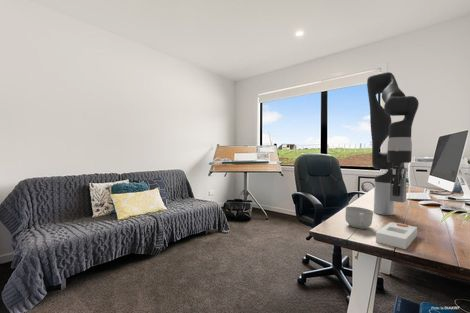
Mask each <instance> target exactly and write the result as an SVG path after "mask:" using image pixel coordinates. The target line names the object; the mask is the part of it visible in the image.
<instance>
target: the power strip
mask: <svg viewBox="0 0 470 313" xmlns="http://www.w3.org/2000/svg"><path fill="white" fill-rule="evenodd" d="M417 237H418V226H414V225H413V226H412V225H409V224H407V223H400V222H394V221H389V223H387V224H386V225H385V226H382V228H380V229H379V230H377V231H376V232H375V242H376V243H379V244H384V245H386V246H387V245H388V246H391V247H394V248H399V249H402V250H406V249H408V247H409V246H410V245H411V244H412V243H413V241H414V240H415V239H416V238H417Z"/></svg>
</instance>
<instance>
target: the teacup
mask: <svg viewBox="0 0 470 313" xmlns="http://www.w3.org/2000/svg"><path fill="white" fill-rule="evenodd" d="M344 215H345V217H344V218H345V221H346V223H347V224H348V225H349V226H350V227H353V228H354V229H355V228H356V229H362V230H366V229H367V228H369V227H370V226H372V223H373V216H374V210H371V209H367V208H365V207H358V206H345V214H344Z"/></svg>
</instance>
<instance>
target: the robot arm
mask: <svg viewBox="0 0 470 313" xmlns="http://www.w3.org/2000/svg"><path fill="white" fill-rule="evenodd" d="M366 88H367V95H368V103H369V117H370V119H369V120H370V122H369V123H370V133H371V134H370V135H371V136H370V137H371V163H372V168H374V170H375V169H376V170H387V172H385V173H383V174H379V175H376V176H374V189H373V190H374V194H373V214H374V213H375V214H378V215H382V216H393V215H394V214H395V213H394V212H395V211H394V208H395V201H390V178H391V184H392V185H393V196H400V185H401V180H402V179H403V177H407V170H408V169H407V167H405V164H406V163H407V164H411V163H412V156H413V155H412V152H413V150H412V148H413V142H412V141H413V140H412V129H413V128H412V126H413V123H414V119H415V116H416V114H417V111H418V108H419V104H420V103H419V99H417V97H415V96H413V95H411V96H410V95H408V96H407V95H406V94H405V93H404V92H403V91H402V90H401V89H400V87H399V85H398V82H397V80H396V77H395V75H394V74H393V73H392V72H390V71H389V72H387V71H386V72H383V73H377V74H373V75H372V74H371V75H370V76H368V77H367V81H366ZM380 94H381V99H382V101H383V102H384V106H382V105H381V102H379V100H378V98H377V95H380ZM392 116H393V117H395V116H396V117H397V116H398V117H399V116H401V117H403V116H404V117H403V119H402V120H399V121H394V122H392ZM387 138H388V140H387V151H386V152H380V149H381V146H382V145H383V143H384V142H385V141H386V139H387ZM395 179H396V180H397V181H395Z"/></svg>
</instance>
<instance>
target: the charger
mask: <svg viewBox="0 0 470 313" xmlns="http://www.w3.org/2000/svg"><path fill="white" fill-rule="evenodd" d="M395 181H397V180H396V179H395ZM390 201H394V203H406V202H407V176H406V177H403V179H402V180H401V185H400V196H393V185H392V184H391V178H390Z"/></svg>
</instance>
